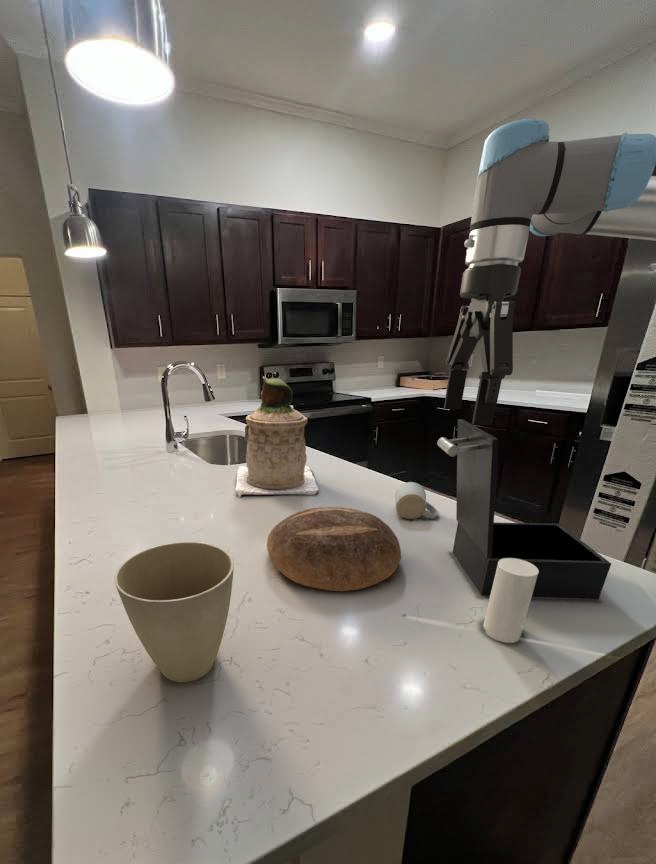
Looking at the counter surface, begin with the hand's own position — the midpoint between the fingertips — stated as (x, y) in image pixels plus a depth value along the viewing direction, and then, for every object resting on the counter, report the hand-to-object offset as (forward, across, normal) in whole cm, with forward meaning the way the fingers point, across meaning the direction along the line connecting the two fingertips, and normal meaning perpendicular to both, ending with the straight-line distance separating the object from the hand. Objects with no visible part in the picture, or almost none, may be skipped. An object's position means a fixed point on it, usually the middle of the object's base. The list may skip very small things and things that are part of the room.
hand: (465, 416), depth 68 cm
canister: (+30, +16, +5) cm, 35 cm away
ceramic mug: (+31, -29, +3) cm, 42 cm away
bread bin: (+30, 0, +15) cm, 34 cm away
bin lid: (+12, 0, +4) cm, 13 cm away
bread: (+31, -5, -20) cm, 37 cm away
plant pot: (+31, +26, -42) cm, 58 cm away
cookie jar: (+31, -52, -34) cm, 70 cm away
